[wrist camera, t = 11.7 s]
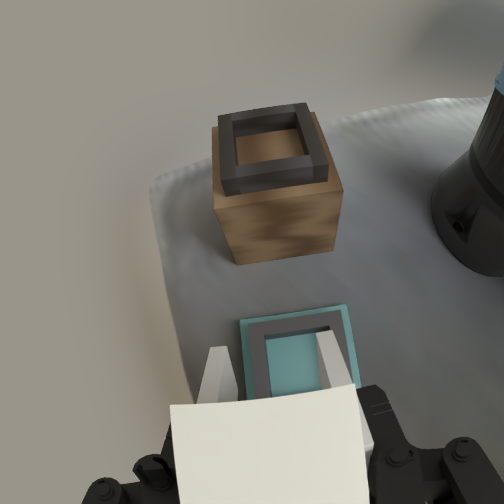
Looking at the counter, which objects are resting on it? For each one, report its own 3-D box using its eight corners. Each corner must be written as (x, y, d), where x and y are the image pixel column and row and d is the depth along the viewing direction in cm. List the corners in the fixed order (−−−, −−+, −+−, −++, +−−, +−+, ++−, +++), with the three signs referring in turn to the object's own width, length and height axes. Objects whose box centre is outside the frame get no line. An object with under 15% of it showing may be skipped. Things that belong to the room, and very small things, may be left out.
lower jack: (344, 307, 29) (349, 296, 26) (362, 409, 24) (369, 409, 21) (241, 322, 30) (235, 313, 27) (251, 426, 25) (246, 428, 22)
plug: (318, 397, 16) (354, 383, 6) (326, 461, 14) (371, 543, 4) (249, 407, 17) (169, 404, 6) (256, 469, 15) (189, 556, 4)
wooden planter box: (313, 177, 36) (314, 95, 26) (333, 250, 32) (345, 172, 21) (231, 190, 37) (207, 111, 27) (237, 265, 33) (207, 193, 22)
